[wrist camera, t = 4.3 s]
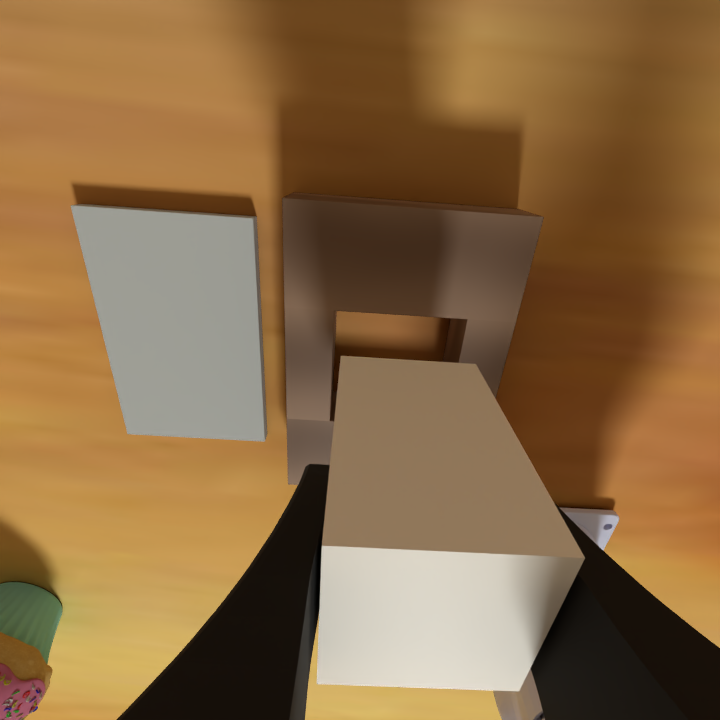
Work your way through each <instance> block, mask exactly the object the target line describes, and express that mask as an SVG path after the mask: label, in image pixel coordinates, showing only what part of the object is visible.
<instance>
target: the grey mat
mask: <svg viewBox="0 0 720 720" xmlns="http://www.w3.org/2000/svg"><path fill="white" fill-rule="evenodd" d="M71 209H72V213H73V217H74V221H75V225H76V229H77V233H78V237H79V241H80V245H81V249H82V253H83V257H84V261H85V265H86V269H87V273H88V277H89V281H90V285H91V289H92V293H93V297H94V301H95V305H96V309H97V313H98V317H99V321H100V325H101V329H102V333H103V337H104V341H105V345H106V349H107V353H108V357H109V361H110V365H111V369H112V373H113V377H114V381H115V385H116V389H117V393H118V397H119V401H120V405H121V409H122V413H123V417H124V421H125V425H126V429H127V433H128V434H136V435H154V436H173V437H191V438H210V439H228V440H247V441H265V439H266V436H267V420H266V399H265V379H264V358H263V338H262V317H261V297H260V276H259V256H258V235H257V216H244V215H230V214H216V213H202V212H188V211H174V210H160V209H146V208H132V207H118V206H103V205H89V204H77V205H71Z"/></svg>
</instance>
